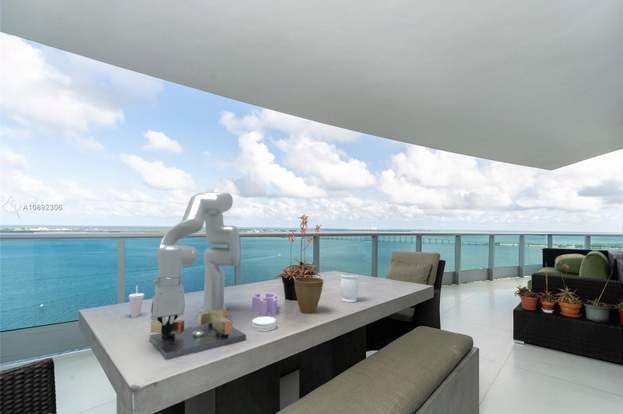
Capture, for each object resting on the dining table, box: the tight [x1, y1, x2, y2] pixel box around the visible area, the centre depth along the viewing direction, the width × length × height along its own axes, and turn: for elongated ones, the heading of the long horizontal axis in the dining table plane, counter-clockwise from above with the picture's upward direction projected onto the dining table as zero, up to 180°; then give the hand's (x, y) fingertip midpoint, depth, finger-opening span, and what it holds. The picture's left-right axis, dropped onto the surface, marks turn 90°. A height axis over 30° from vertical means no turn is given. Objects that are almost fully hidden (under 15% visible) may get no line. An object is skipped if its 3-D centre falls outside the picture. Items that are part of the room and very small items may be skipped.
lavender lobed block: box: [251, 291, 278, 317], centre depth 158 cm, size 20×12×7 cm, turn 20°
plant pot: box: [293, 276, 324, 314], centre depth 158 cm, size 15×15×16 cm
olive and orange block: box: [150, 318, 185, 338], centre depth 113 cm, size 11×4×5 cm, turn 86°
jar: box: [340, 273, 360, 303], centre depth 182 cm, size 11×10×15 cm
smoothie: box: [128, 285, 145, 318], centre depth 143 cm, size 6×6×14 cm
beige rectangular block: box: [197, 309, 229, 327], centre depth 126 cm, size 11×4×5 cm, turn 131°
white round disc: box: [251, 316, 277, 333], centre depth 131 cm, size 10×10×4 cm
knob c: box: [212, 315, 234, 336], centre depth 116 cm, size 11×4×5 cm, turn 41°
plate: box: [149, 324, 247, 360], centre depth 115 cm, size 20×28×3 cm
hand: (166, 335), depth 109 cm, fingers closed
